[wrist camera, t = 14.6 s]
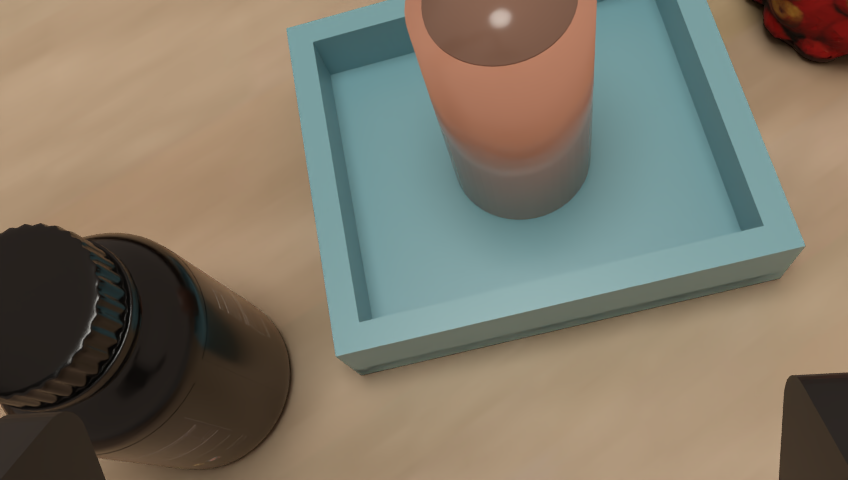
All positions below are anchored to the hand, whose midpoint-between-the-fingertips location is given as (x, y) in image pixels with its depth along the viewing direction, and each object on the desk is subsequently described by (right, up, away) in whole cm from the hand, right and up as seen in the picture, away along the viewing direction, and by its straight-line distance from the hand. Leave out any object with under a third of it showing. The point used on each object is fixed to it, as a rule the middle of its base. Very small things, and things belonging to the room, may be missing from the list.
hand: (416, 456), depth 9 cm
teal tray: (+4, +6, +23) cm, 24 cm away
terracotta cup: (+4, +6, +22) cm, 23 cm away
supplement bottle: (-8, -3, +23) cm, 24 cm away
